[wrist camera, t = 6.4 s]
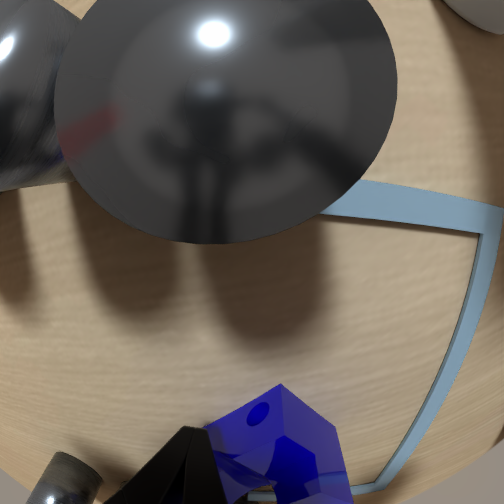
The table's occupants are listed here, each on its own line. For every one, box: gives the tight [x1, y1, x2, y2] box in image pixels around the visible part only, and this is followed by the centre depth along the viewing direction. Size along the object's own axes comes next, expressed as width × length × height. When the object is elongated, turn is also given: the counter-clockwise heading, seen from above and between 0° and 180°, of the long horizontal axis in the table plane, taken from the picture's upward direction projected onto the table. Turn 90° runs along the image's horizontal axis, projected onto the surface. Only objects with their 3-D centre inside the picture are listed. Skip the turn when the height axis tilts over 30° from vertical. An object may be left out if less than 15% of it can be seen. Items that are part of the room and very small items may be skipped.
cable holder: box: [203, 383, 354, 504], centre depth 8 cm, size 8×4×4 cm, turn 132°
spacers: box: [0, 0, 397, 504], centre depth 7 cm, size 14×23×5 cm, turn 177°
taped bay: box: [247, 179, 504, 501], centre depth 9 cm, size 8×16×1 cm, turn 177°
